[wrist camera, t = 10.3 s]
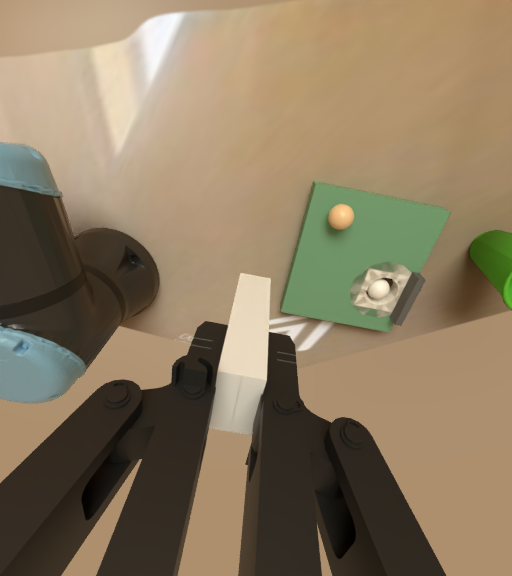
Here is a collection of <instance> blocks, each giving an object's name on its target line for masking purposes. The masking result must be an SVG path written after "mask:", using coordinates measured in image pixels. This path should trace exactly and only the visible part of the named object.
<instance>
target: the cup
mask: <svg viewBox="0 0 512 576" xmlns="http://www.w3.org/2000/svg"><path fill="white" fill-rule="evenodd" d="M470 257H471V259H472V260H473V262H474V263H475V264H476V265H477V266H478V268H479V269H480V270H481V271H482V272H483V274H484V275H485V276H486V277H487V278H488V280H489V281H490V282H491V283H492V284H493V285H494V287H495V288H496V289H497V290H498V291H499V293H500V294H501V295H502V298H503V301H504V303H505V304H506V306H507V307H508V308H509V309H511V310H512V233H509V232H504V231H500V230H494V231H488V232H485V233H483V234H481V235H479V236H478V237H477V238H476V239H475V240H474V241H473V242H472V244H471V246H470Z"/></svg>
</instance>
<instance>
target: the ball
mask: <svg viewBox="0 0 512 576" xmlns="http://www.w3.org/2000/svg"><path fill="white" fill-rule="evenodd" d="M389 290H390V287H389V284H388V282H387V281H385V280H384V279H381V278H380V279H376V280H374V281H373V282H372V283H371V284H369V286H368V288H367V291H368V294H369V295H370V296H371V297H373V298H375V299H382V298H384V297H386V296H387V295H388V293H389Z"/></svg>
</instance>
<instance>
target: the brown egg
mask: <svg viewBox="0 0 512 576" xmlns="http://www.w3.org/2000/svg"><path fill="white" fill-rule="evenodd" d="M328 220H329V223H330V225H331V226H332V227H333V228H335V229H338V230H343V229H346V228H348V227H349V226H350V225H351V224H352V222H353V220H354V212H353V210H352V208H351V207H350V206H348V205H345V204H339V205H336V206H334V207H333V208H332V209H331V210H330V212H329V215H328Z"/></svg>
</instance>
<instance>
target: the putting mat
mask: <svg viewBox="0 0 512 576" xmlns="http://www.w3.org/2000/svg"><path fill="white" fill-rule="evenodd" d="M339 204H345V205H348V206H350V207H351V208H352V210H353V212H354V220H353V222H352V224H351V225H350V226H349V227H348V228H346V229H343V230H338V229H335V228H333V227H332V226H331V225H330V223H329V220H328V215H329V212H330V210H331V209H332V208H333V207H334V206H336V205H339ZM450 213H451V212H450V211H448V210H446V209H444V208H442V207H438V206H433V205H428V204H423V203H418V202H413V201H408V200H404V199H399V198H394V197H389V196H384V195H379V194H374V193H369V192H365V191H360V190H355V189H350V188H345V187H340V186H335V185H330V184H326V183H321V182H316V181H313V185H312V189H311V193H310V196H309V200H308V204H307V207H306V211H305V215H304V219H303V222H302V226H301V230H300V234H299V237H298V241H297V245H296V248H295V252H294V256H293V260H292V263H291V267H290V271H289V275H288V278H287V282H286V286H285V289H284V293H283V297H282V301H281V312H283V313H289V314H294V315H299V316H305V317H310V318H315V319H321V320H326V321H331V322H337V323H342V324H347V325H353V326H358V327H363V328H369V329H374V330H379V331H385V332H390V330H391V328H392V326H393V324H395V325H400V326H401V325H402V323H403V322H404V320H405V318H406V316H407V314H408V312H409V310H410V308H411V307H412V305H413V303H414V301H415V299H416V297H417V295H418V293H419V292H420V290H421V288H422V286H423V284H424V282H425V279H424V278H423V277H422V276H421V275H420V274H419V273H420V271H421V270H422V268H423V266H424V264H425V262H426V260H427V258H428V256H429V254H430V252H431V250H432V248H433V246H434V244H435V242H436V240H437V239H438V237H439V235H440V233H441V231H442V229H443V227H444V225H445V223H446V221H447V219H448V217H449V215H450ZM384 277H385V278H390V279H392V281H393V284H392V286H391V288H390V290H389V293H388V295H387V296H386V297H384V298H382V299H375V298H373V297H371V296H370V295H368V294H366V291H367V288H368V286H369V284H371V283H372V282H373V281H374V280H376V279H380V278H384Z"/></svg>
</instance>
